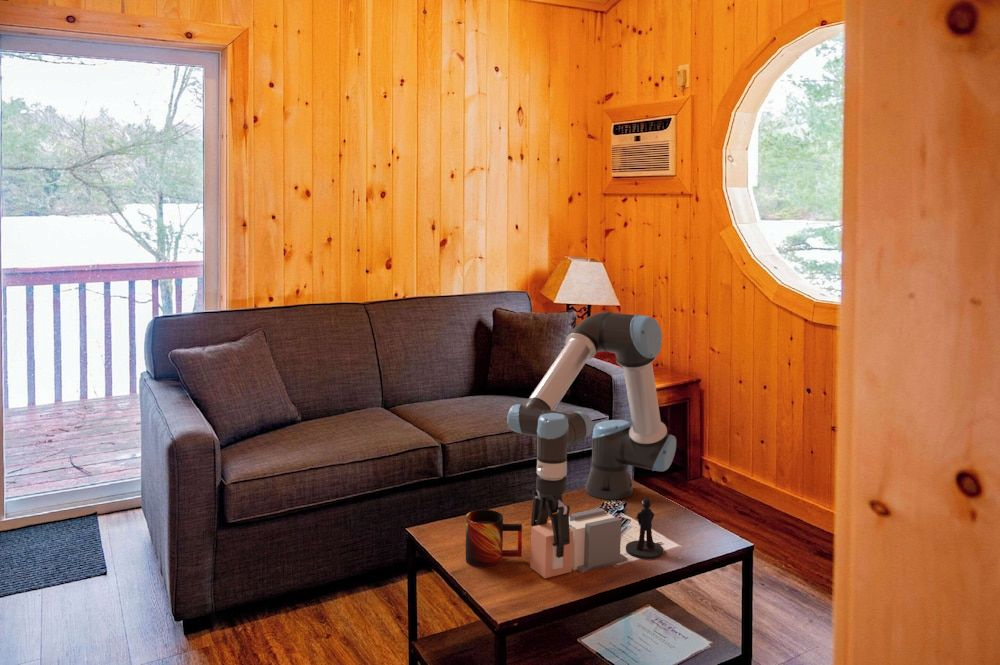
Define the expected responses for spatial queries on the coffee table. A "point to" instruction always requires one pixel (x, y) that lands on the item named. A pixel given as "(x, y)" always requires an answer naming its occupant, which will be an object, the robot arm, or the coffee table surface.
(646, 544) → the figurine
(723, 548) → the coffee table surface
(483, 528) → the mug
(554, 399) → the robot arm
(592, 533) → the two-tone box
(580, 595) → the coffee table surface
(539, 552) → the stub
